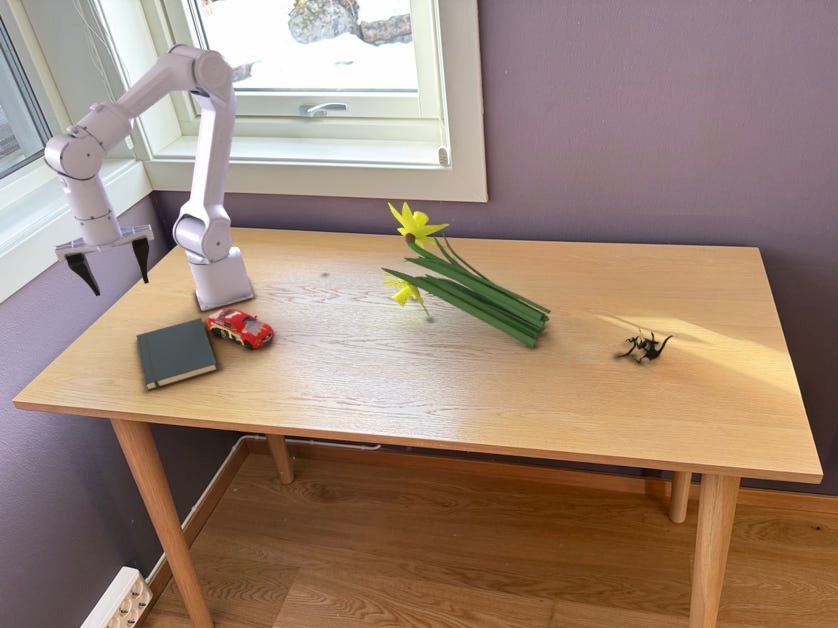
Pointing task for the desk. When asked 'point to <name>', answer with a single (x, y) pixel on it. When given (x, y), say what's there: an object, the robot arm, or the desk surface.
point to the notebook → (175, 354)
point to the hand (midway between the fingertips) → (122, 286)
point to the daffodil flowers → (484, 294)
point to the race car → (240, 328)
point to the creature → (651, 352)
